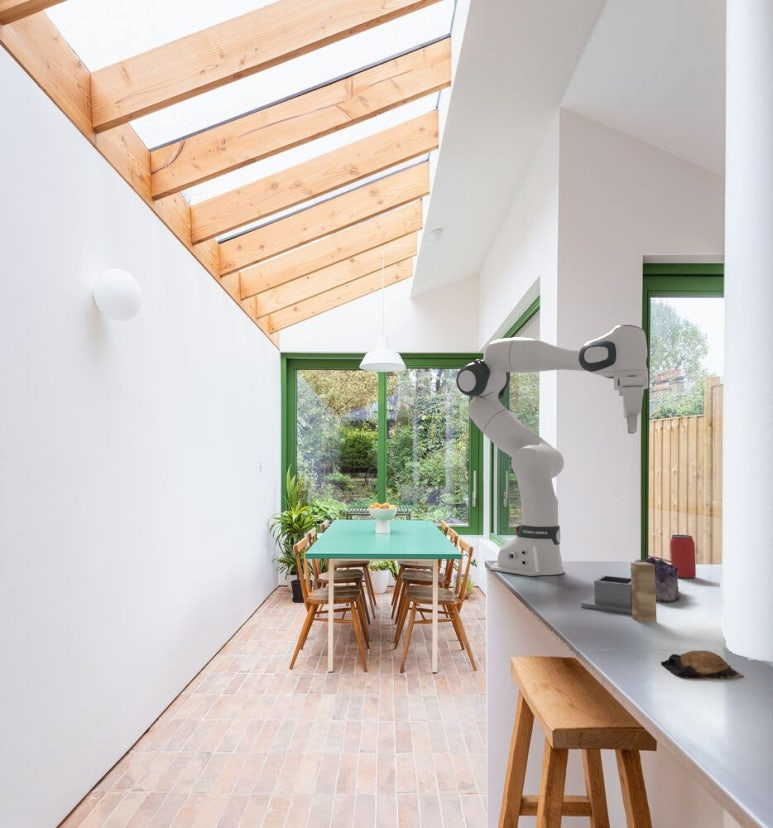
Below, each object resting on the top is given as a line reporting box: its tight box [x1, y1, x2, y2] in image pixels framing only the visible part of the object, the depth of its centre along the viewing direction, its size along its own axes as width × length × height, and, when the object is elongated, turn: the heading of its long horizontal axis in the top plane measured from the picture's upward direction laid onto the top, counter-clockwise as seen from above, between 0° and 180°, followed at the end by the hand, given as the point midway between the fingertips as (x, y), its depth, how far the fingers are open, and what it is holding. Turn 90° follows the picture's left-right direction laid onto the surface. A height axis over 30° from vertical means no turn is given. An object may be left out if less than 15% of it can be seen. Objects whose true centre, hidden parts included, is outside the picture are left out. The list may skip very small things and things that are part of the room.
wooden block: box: [630, 561, 657, 623], centre depth 131 cm, size 4×4×12 cm
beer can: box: [669, 534, 697, 580], centre depth 178 cm, size 7×7×12 cm
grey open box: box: [581, 575, 632, 615], centre depth 143 cm, size 13×13×6 cm
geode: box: [629, 556, 681, 604], centre depth 156 cm, size 20×12×10 cm, turn 169°
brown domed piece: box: [660, 650, 745, 680], centre depth 100 cm, size 11×9×4 cm
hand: (632, 432), depth 165 cm, fingers open, 8 cm apart
